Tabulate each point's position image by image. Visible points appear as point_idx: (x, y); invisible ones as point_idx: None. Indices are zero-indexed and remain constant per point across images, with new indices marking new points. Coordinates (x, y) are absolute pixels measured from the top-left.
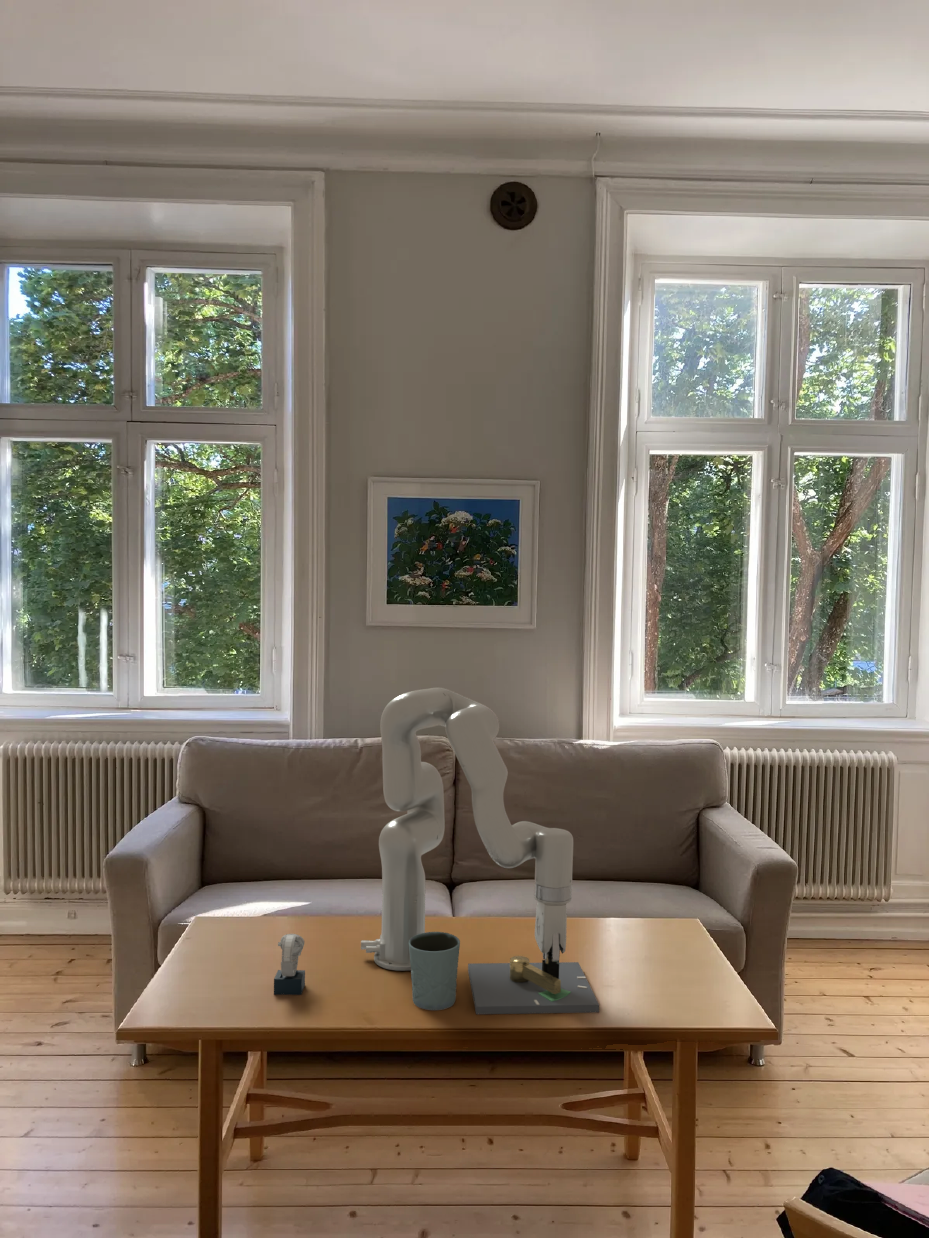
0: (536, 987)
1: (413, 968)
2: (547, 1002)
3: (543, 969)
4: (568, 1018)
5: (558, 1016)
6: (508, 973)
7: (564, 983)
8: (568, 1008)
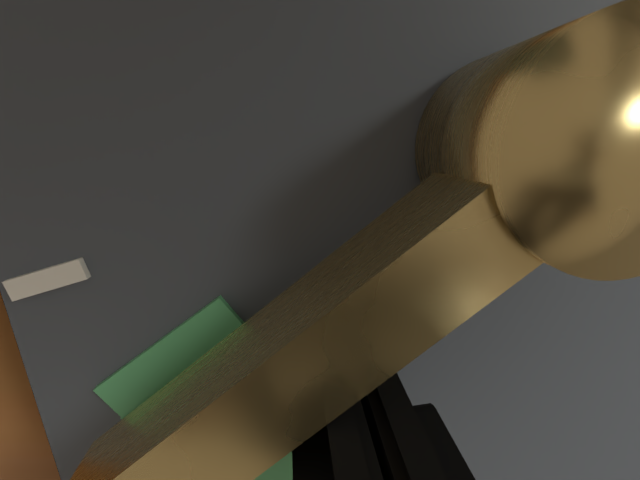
0: None
1: None
2: (76, 357)
3: (329, 440)
4: (10, 450)
5: (23, 395)
6: None
7: None
8: None
